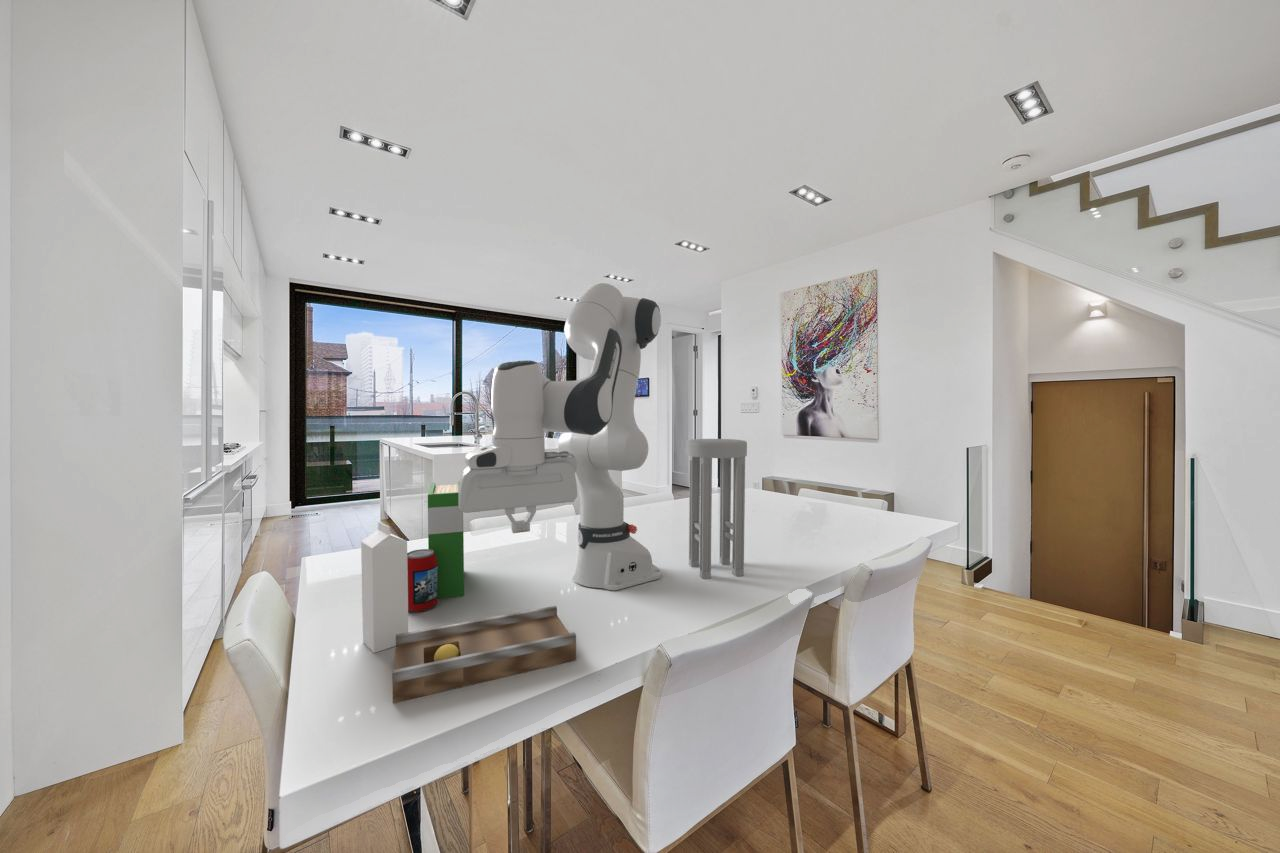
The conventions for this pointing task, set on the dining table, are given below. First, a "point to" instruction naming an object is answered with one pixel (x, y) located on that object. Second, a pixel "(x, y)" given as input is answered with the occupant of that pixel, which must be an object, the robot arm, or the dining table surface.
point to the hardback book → (446, 538)
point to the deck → (479, 652)
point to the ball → (446, 652)
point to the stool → (703, 502)
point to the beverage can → (422, 580)
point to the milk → (384, 588)
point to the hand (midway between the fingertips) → (520, 531)
